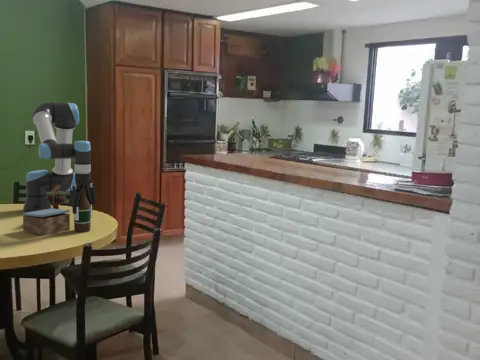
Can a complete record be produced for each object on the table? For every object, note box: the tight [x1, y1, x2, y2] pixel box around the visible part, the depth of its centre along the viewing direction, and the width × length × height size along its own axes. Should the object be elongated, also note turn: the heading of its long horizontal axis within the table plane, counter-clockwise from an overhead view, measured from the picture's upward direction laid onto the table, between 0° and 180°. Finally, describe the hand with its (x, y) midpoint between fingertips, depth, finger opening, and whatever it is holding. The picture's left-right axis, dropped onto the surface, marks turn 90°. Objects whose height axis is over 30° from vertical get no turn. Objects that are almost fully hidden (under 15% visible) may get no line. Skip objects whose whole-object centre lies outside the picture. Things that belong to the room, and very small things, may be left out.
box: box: [22, 213, 71, 237], centre depth 244 cm, size 16×14×8 cm
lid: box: [22, 207, 71, 217], centre depth 244 cm, size 16×14×1 cm
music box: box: [47, 185, 67, 209], centre depth 263 cm, size 15×11×20 cm
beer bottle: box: [73, 183, 92, 233], centre depth 246 cm, size 8×8×24 cm
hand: (82, 218), depth 247 cm, fingers closed on beer bottle, 8 cm apart
